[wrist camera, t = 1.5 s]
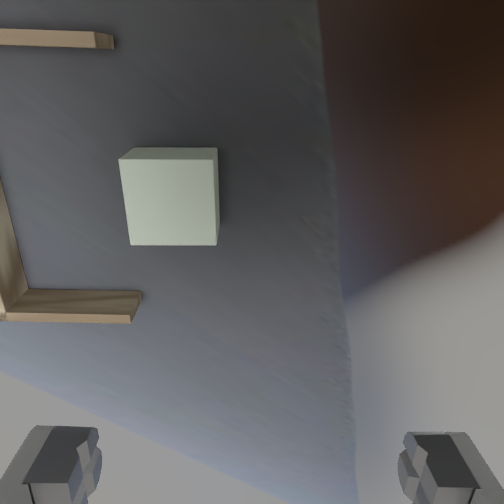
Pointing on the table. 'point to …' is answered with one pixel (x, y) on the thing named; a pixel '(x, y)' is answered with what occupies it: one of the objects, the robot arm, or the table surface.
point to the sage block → (171, 195)
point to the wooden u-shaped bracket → (5, 246)
